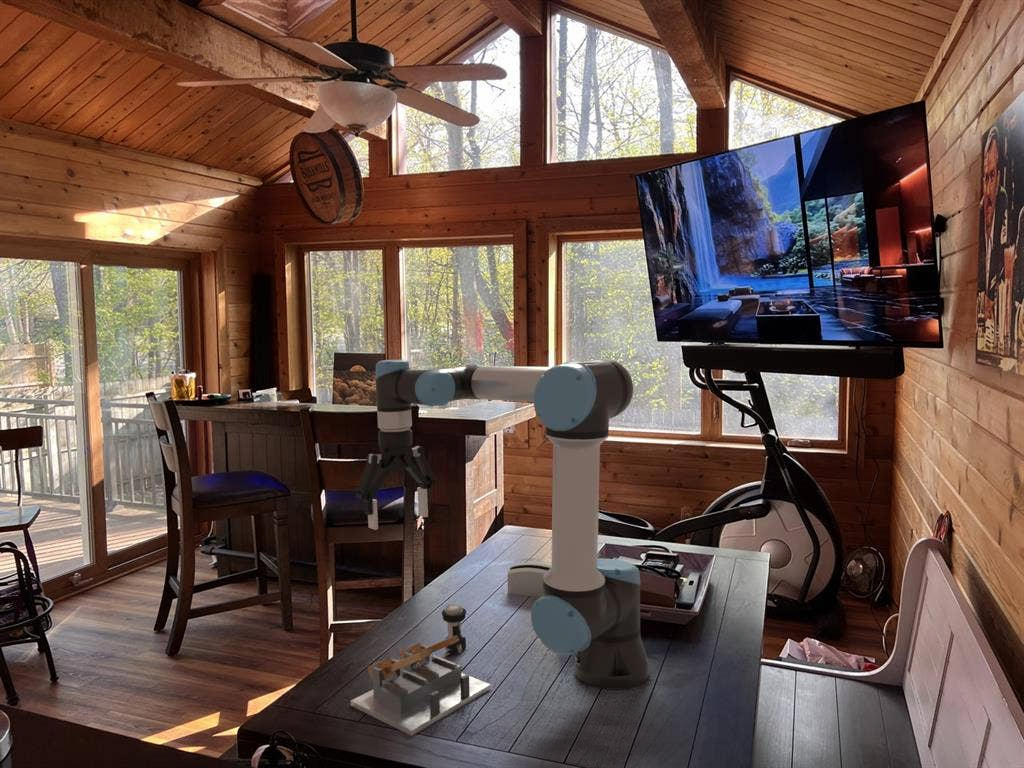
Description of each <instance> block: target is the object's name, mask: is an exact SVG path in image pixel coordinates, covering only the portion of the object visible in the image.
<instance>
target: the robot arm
mask: <svg viewBox="0 0 1024 768" xmlns="http://www.w3.org/2000/svg"><path fill="white" fill-rule="evenodd" d="M374 381H375V393H376V395H375V396H376V411H377V412H376V414H377V428H378V429H379V431H378V432H377V437H378V440H377V441H378V448H379V452H378V454H377V453H376V454H373V453H368V454H367V455H366V465H365V468H364V471H363V474H362V475H361V479H360V481H359V484H358V487H357V490H356V493H355V497H356V498H358V499H361V500H363V503H364V514H365V515H366V516H367V523H368V526H367V527H368V528H369V529H371V530H379V517H378V515H379V514H378V500H377V499H375V497H376V495H377V494H378V492H379V490H380V488H381V487H382V485H383V484H384V481H386V478H387V477H388V475H390V474H391V473H392V472H398V471H400V470H401V471H404V470H406V471H407V472H408V474H409V475H411V477H412V478H413V479H414V480H415V481H416V482H417V484H418V485H419V487H417V488H416V489H417V508H418V509H417V510H418V511H417V512H418V513H417V514H418V516H420V517H424V518H428V517H429V508H428V507H429V506H428V505H429V504H428V502H430V499H431V497H430V494H431V493H430V490H431V489H432V488H433V485H435V484H437V478H436V476H435V474H434V472H433V470H432V468H431V466H430V464H429V462H428V460H427V458H426V456H425V449H424V446H419V445H414V446H413V447H412V445H413V430H412V429H411V427H413V419H412V405H421V406H422V405H423V406H428V407H436V406H437V407H439V406H446V405H447V404H449V402H455V401H461V400H479V401H481V400H488V401H504V402H505V401H506V402H507V401H508V402H523V403H524V402H526V403H533V408H534V413H535V415H536V416H538V417H539V421H540V422H541V424H542V425H544V426H545V428H544V429H545V430H544V431H545V432H544V434H545V436H546V438H547V439H548V440H549V441H550V442H551V443H552V497H551V498H552V501H551V505H552V507H551V508H552V510H551V512H552V513H551V514H552V515H551V517H552V518H551V519H552V520H551V565H552V567H551V568H550V569H549V570H548V571H547V572H546V573H545V574H544V576H543V596H541V597H537V598H538V599H537V600H535V602H534V603H533V605H532V607H531V611H530V620H531V621H530V622H531V626H532V628H533V629H532V630H533V631H534V633H535V635H536V636H537V638H538V639H539V640H540V641H541V643H542V645H544V646H545V648H547V649H548V650H549V651H551V652H553V653H556V654H557V655H561V656H571V655H574V654H576V655H575V658H574V673H575V675H576V677H577V678H578V680H580V681H581V682H583V683H585V684H587V685H588V686H592V687H595V688H599V689H604V690H625V689H631V688H633V687H637V686H640V685H642V684H643V683H645V682H646V681H647V679H648V678H649V677H650V661H649V659H648V657H647V653H646V650H645V646H644V644H643V640H642V638H641V585H642V583H641V577H640V570H639V569H638V567H637V566H636V565H635V564H633V563H631V562H629V561H625V560H621V559H615V558H599V557H598V555H599V554H598V553H599V552H598V551H599V550H598V547H599V546H598V545H599V543H598V542H599V510H600V509H599V508H600V507H599V506H600V505H599V502H600V461H601V460H600V455H601V445H602V443H603V442H605V440H607V439H608V438H609V429H610V428H609V427H610V419H613V418H615V417H618V416H619V415H621V414H622V413H623V412H624V411H625V410H627V409H628V406H629V405H630V404H631V401H632V399H633V395H634V383H633V380H632V377H631V374H630V373H629V371H628V370H627V369H626V367H625V366H623V365H622V364H621V363H620V362H617V361H615V360H613V359H608V358H597V359H596V358H595V359H589V360H579V361H566V362H563V363H560V364H558V365H554V366H517V365H515V366H514V365H513V366H503V365H501V366H500V365H480V364H466V365H461V366H453V367H450V366H449V367H441V368H432V369H411V368H410V362H409V360H406V359H384V360H379V361H377V362H376V364H375V378H374ZM413 457H414V459H415V461H416V463H417V465H418V467H419V469H420V470H419V469H418V468H417V466H416V464H415V463H414V462H413V461H412V458H413ZM379 463H380V464H379ZM378 464H379V466H378ZM376 471H377V472H376Z"/></svg>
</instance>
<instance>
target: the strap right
mask: <svg viewBox="0 0 1024 768" xmlns="http://www.w3.org/2000/svg"><path fill="white" fill-rule="evenodd" d="M458 641H459V638H458V636H457V635H455V636H453V637H450V638H448V637H447V638H446V639H444V640H441V641H439V642H437V643H435V644H432V645H430V646H429V645H428V646H429V647H427V648H425V649H422V648H421V645H422V644H420V642H418V643H416V644H414V645H411V646H409V647H407V648H405V649H403V650H401V651H399V652H397V653H398V657H399V658H400V661H401V660H403V659H404V653H405V652H409V653H411V654H413V655H415V654H417V653H419V652H422V651H424V650H426V649H427V651H428V653H429V654H430V655H431V654H432V653H434V652H437V651H439V650H442V649H445V647H447V646H449V645H451V644H454V643H456V642H458ZM425 659H426V658H423V659H421V660H419V661H416V662H414V665H415V664H417V665H418V664H420V662H421V661H423V660H425Z"/></svg>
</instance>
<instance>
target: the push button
mask: <svg viewBox="0 0 1024 768" xmlns="http://www.w3.org/2000/svg"><path fill="white" fill-rule="evenodd" d="M466 615H467V610H466V609H465V608H463V606H462V605H460V604H457V603H454V604H453V603H451V604H449V605H447V606H446V607H445V609H443V610H442V611H441V616H442V621H444V622H446V624H447V639H448V638H450V637H453V636H455V635H457V636H458V638H459V641H458V642H456V643H454V644H451V645H449V646H447V647H444V650H442V653H443V655H442V657H446V656H452V657H453V656H454V655H456V654H458V653H462V652H463V651H464V650H466V648H467V640H466V639H467V637H464V636H463V635H462V622H463V621H464V620H465V619H466ZM462 650H463V651H462Z"/></svg>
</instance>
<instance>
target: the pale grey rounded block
mask: <svg viewBox="0 0 1024 768" xmlns="http://www.w3.org/2000/svg"><path fill="white" fill-rule="evenodd" d="M551 567H552V564H547V563H541V562H531V561H530V562H520V563H519V562H518V563H515V564H512V565H511V566H510V568H509V570H508V572H507V594H508V595H509V594H510V595H518V596H520V595H521V596H526V597H527V596H529V597H537V598H539V597H541V596H543V576H544V574H545V573H546V572H547V571H548V570H549V569H550V568H551Z"/></svg>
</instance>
